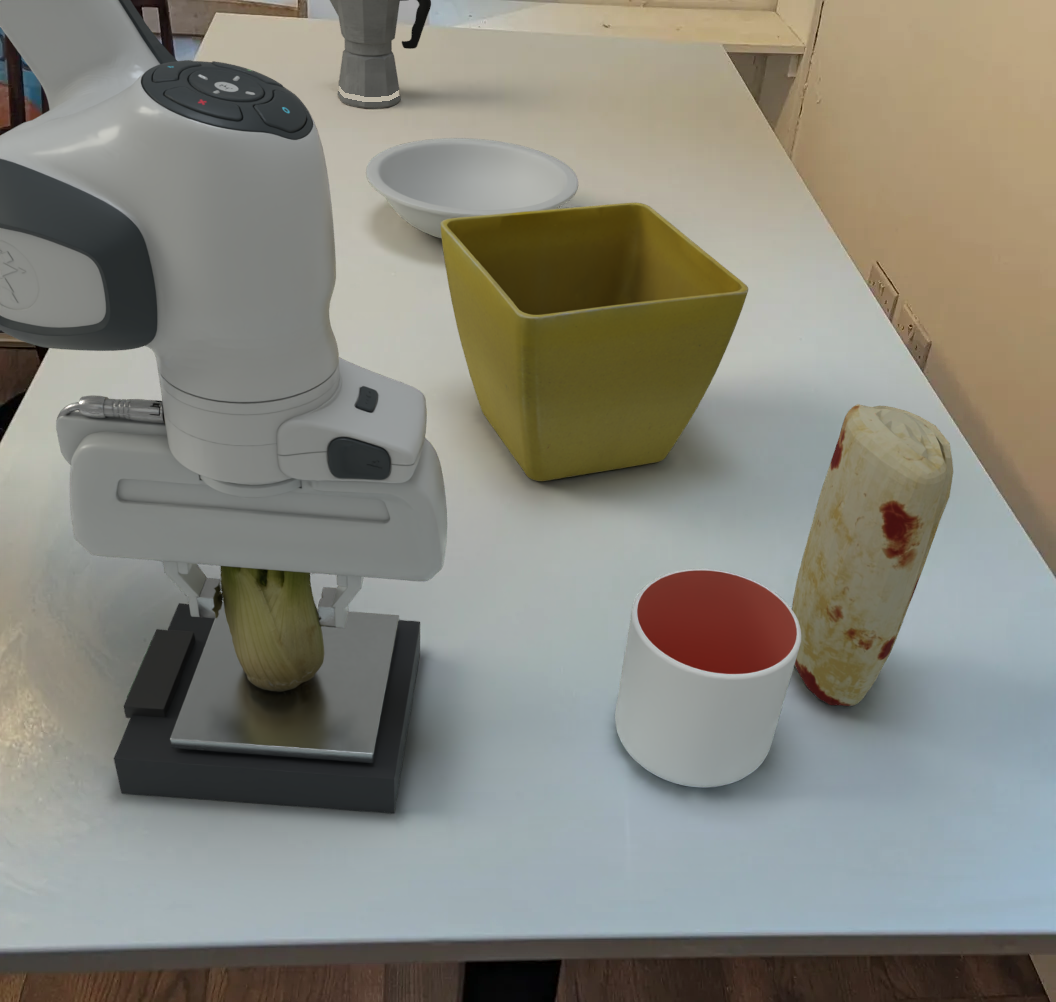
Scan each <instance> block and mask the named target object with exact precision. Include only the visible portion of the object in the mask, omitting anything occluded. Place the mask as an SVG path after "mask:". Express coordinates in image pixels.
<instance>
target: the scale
mask: <svg viewBox="0 0 1056 1002" xmlns="http://www.w3.org/2000/svg"><path fill="white" fill-rule="evenodd" d="M214 620H215V618H203V617H192V616H191V614H190V607H189V603H180V602H178V604H177V606H176V609H175V611H174V614H173V616H172V618H171V621H170V623H169V626H168V628H167V629H160V628H156V629H155V632H154V634H153V636H152V639H151V640H150V641H149V644H148V646H147V649H146V651H145V653H144V656H143V658H142V661H141V663H140V664H139V667H138V669H137V672H136V674H135V677H134V679H133V681H132V684H131V685H130V688H129V690H128V693H127V695H126V699H125V701H124V704H123V705H122V706H123V710H124V711H123V712H124V717H125V718H126V719H129V721H128V723H127V726H126V728H125V730H124V733H123V735H122V737H121V740H120V742H119V745H118V747H117V748H116V749H117V750H116V752H115V754H114V757H113V762H114V766H115V771H116V776H117V780H118V785H119V789H120V794H123V795H136V796H148V797H149V796H152V797H163V798H164V797H165V798H176V799H177V798H178V799H191V800H204V801H205V800H206V801H218V802H233V803H243V804H244V803H245V804H259V805H260V804H261V805H272V806H287V807H300V808H312V809H313V808H315V809H327V810H339V811H340V810H341V811H353V812H368V813H379V814H380V813H382V814H395V813H396V806H397V799H398V793H399V787H400V781H401V776H402V769H403V763H404V757H405V750H406V745H407V737H408V731H409V726H410V718H411V713H412V707H413V700H414V694H415V688H416V683H417V675H418V670H419V663H420V657H421V621H419V620H407V619H404V620H403V619H399V628H398V634H397V639H396V644H395V650H394V655H393V660H392V666H391V671H390V676H389V682H388V687H387V693H386V698H385V703H384V709H383V714H382V719H381V725H380V730H379V735H378V741H377V746H376V752H375V757H374V762H373V763H365V762H351V761H338V760H324V759H311V758H297V757H284V756H270V755H257V754H244V753H230V752H217V751H203V750H190V749H176V748H171V742H170V737H171V735H172V732H173V729H174V727H175V724H176V721H177V719H178V716H179V713H180V711H181V708H182V705H183V703H184V700H185V697H186V695H187V692H188V689H189V687H190V684H191V681H192V679H193V676H194V673H195V671H196V668H197V665H198V663H199V660H200V657H201V655H202V652H203V649H204V647H205V644H206V641H207V639H208V636H209V633H210V631H211V628H212V625H213V623H214Z"/></svg>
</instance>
